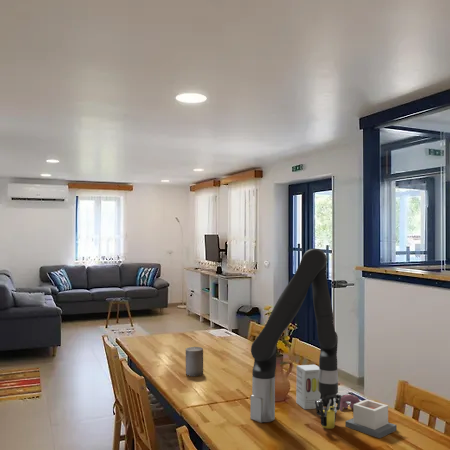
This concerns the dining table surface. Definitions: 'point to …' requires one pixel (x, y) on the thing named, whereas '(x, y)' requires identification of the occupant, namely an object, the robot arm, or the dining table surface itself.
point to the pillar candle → (194, 361)
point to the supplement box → (307, 386)
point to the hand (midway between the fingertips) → (328, 423)
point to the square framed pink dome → (371, 419)
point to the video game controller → (348, 398)
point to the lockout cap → (330, 419)
